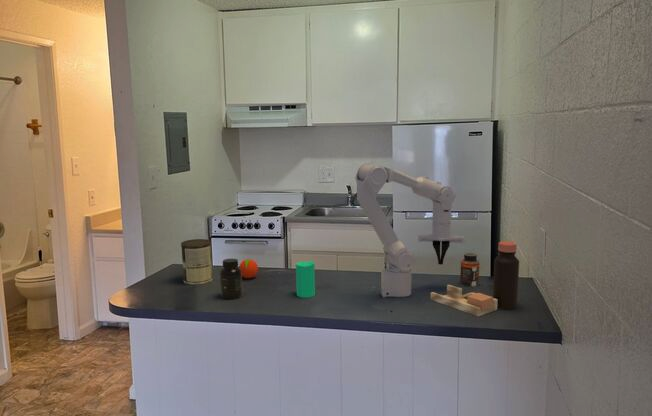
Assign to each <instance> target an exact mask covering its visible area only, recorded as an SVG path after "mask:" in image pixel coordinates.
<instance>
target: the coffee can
mask: <svg viewBox="0 0 652 416" xmlns="http://www.w3.org/2000/svg"><path fill="white" fill-rule="evenodd" d="M211 242H212V241H211V240H210V239H206V238H193V239H187V240H184V241H181V242H180V246H181V258H182V260H181V262H182V273H183V274H182V275H183V283H184V284H186V285H203V284H207V283H209V282H212V281H213V267H212V250H211V249H212V248H211Z"/></svg>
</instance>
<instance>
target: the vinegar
mask: <svg viewBox="0 0 652 416" xmlns="http://www.w3.org/2000/svg"><path fill="white" fill-rule="evenodd" d="M497 248H498V249H497V250H498V255H497V256H496V257H495V258H494V260H493V262H494V263H493V284H492V285H493V286H492V287H493V288H492V297H493V298H494V299H498V301H497V309H500V310H504V311H505V310H506V311H510V310H511V311H512V310H515V309H517V308H518V295H519V294H518V293H519V274H520V260H519V258H518V257H517V256H516V253H517V243H516V242H513V241H505V240H504V241H500V242H498V247H497Z"/></svg>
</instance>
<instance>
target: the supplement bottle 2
mask: <svg viewBox="0 0 652 416" xmlns="http://www.w3.org/2000/svg"><path fill="white" fill-rule="evenodd" d="M477 257H478V255H477V254H476V253H474V252H472V253H471V252H467V253H466V252H465V253H464V254H463V259H461V261H460V274H459V275H460V277H459V279H460V280H459V283H460V285H462V286H465V287H477V286H479V282H480V280H479V279H480V262H479V260H477Z"/></svg>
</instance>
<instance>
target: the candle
mask: <svg viewBox="0 0 652 416" xmlns="http://www.w3.org/2000/svg"><path fill="white" fill-rule="evenodd" d="M315 271H316V270H315V262H314V261H312V260H311V261H310V260H308V261H299V262H297V263H295V284H296V286H295V287H296V296H297V297H299V298H312V297H314V296H315V295H316V288H315V287H316V282H315V276H316V273H315Z"/></svg>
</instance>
